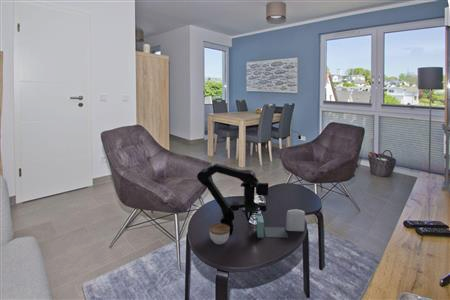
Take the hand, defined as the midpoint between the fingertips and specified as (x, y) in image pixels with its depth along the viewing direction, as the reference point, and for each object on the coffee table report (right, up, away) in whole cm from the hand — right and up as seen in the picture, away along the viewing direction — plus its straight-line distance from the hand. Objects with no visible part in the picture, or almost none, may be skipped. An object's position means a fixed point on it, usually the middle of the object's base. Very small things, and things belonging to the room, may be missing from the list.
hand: (248, 220), depth 164 cm
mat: (+16, -7, +3) cm, 17 cm away
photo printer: (+27, -7, +6) cm, 29 cm away
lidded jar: (-16, -9, -7) cm, 19 cm away
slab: (+7, -8, +2) cm, 10 cm away
